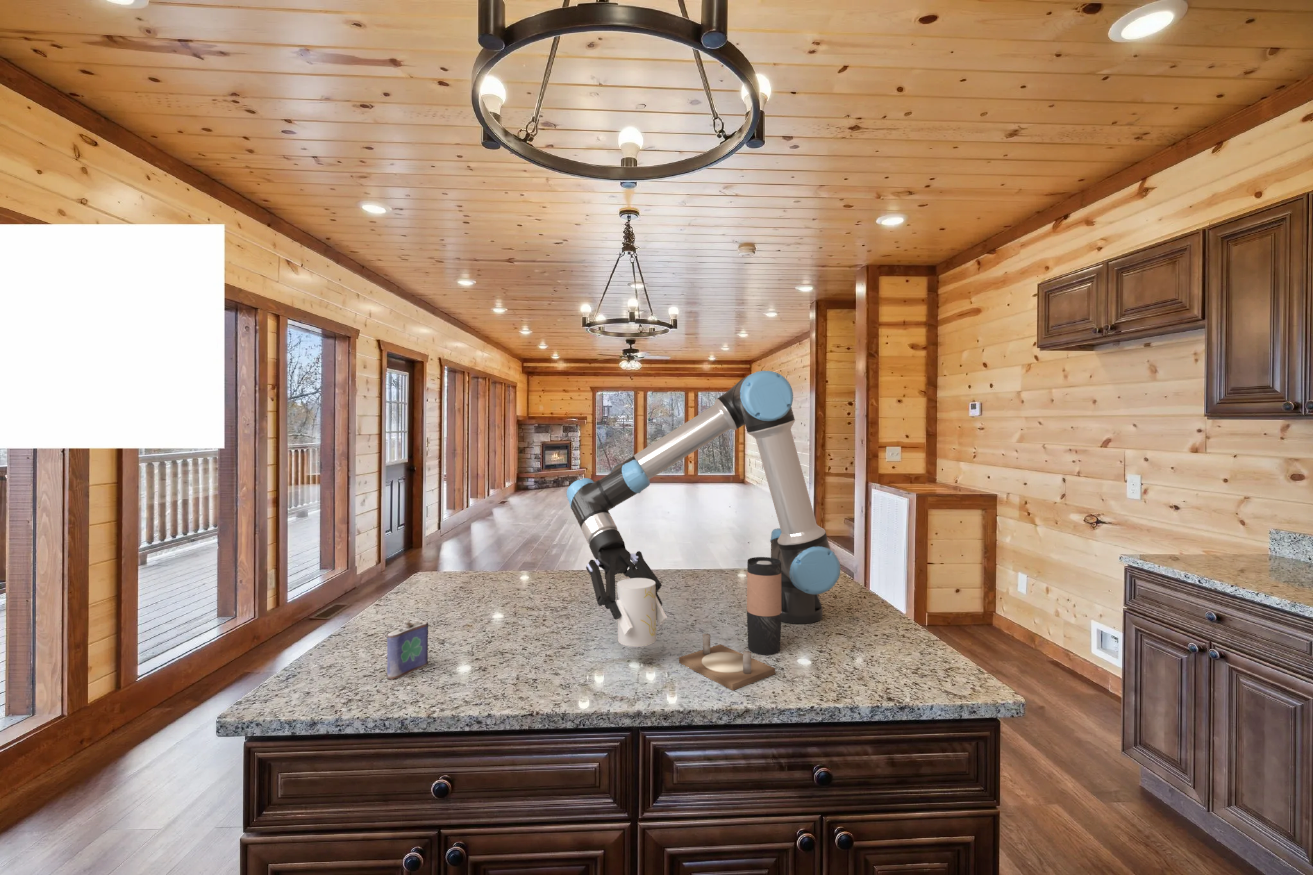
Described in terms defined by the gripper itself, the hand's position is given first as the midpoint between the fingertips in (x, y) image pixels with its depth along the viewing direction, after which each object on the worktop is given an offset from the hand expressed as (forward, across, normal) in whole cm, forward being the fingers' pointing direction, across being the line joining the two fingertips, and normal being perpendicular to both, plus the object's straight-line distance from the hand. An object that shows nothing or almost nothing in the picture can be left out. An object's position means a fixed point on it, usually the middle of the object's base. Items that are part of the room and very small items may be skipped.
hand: (646, 626), depth 119 cm
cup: (0, 0, -5) cm, 5 cm away
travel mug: (+12, -27, -1) cm, 30 cm away
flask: (-15, +40, -26) cm, 50 cm away
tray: (+13, -13, +1) cm, 19 cm away
